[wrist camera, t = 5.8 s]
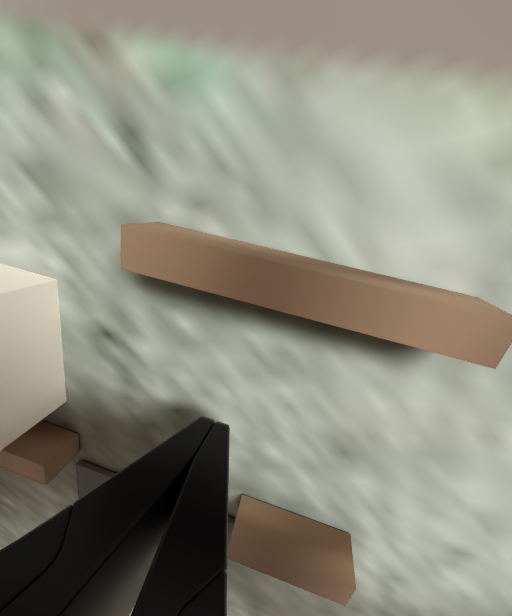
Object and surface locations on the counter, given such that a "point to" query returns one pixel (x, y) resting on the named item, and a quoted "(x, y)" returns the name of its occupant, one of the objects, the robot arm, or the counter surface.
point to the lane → (308, 304)
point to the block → (28, 351)
